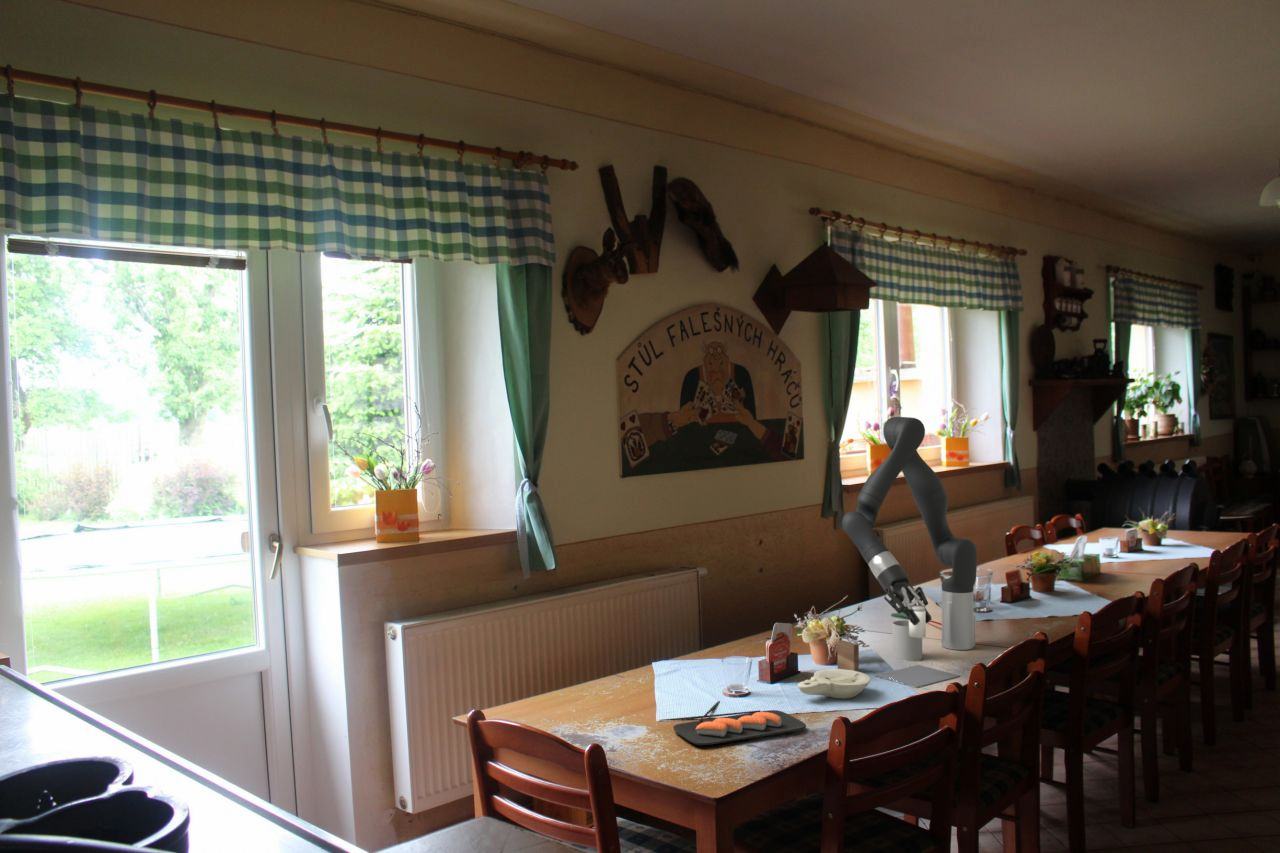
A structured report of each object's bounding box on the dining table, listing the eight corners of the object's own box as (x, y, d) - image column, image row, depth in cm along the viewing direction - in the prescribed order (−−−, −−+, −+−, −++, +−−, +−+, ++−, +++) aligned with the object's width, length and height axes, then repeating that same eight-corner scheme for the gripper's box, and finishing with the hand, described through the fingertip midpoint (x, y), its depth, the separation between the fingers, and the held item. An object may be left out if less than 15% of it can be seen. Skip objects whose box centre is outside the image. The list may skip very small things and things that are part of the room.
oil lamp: (820, 711, 240) (820, 690, 240) (781, 696, 252) (781, 677, 252) (882, 697, 251) (882, 677, 251) (842, 683, 263) (842, 665, 263)
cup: (923, 661, 285) (923, 627, 284) (893, 660, 286) (893, 626, 286) (920, 654, 293) (920, 620, 293) (892, 653, 294) (892, 619, 294)
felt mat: (918, 665, 280) (918, 664, 280) (960, 676, 269) (960, 675, 269) (875, 676, 270) (875, 675, 270) (916, 688, 258) (916, 686, 258)
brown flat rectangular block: (842, 668, 278) (842, 640, 278) (858, 673, 273) (858, 644, 273) (837, 669, 277) (837, 641, 277) (853, 674, 272) (853, 645, 272)
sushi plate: (697, 753, 213) (696, 736, 213) (641, 714, 240) (641, 698, 240) (811, 734, 224) (811, 717, 224) (745, 699, 252) (745, 684, 252)
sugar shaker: (916, 633, 272) (916, 604, 272) (929, 636, 268) (929, 606, 268) (905, 635, 269) (905, 606, 269) (918, 638, 266) (918, 608, 266)
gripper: (878, 565, 270) (913, 617, 261) (912, 560, 279) (948, 610, 269) (863, 582, 275) (897, 633, 265) (897, 577, 283) (932, 626, 274)
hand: (923, 622), depth 267 cm, fingers closed on sugar shaker, 4 cm apart
